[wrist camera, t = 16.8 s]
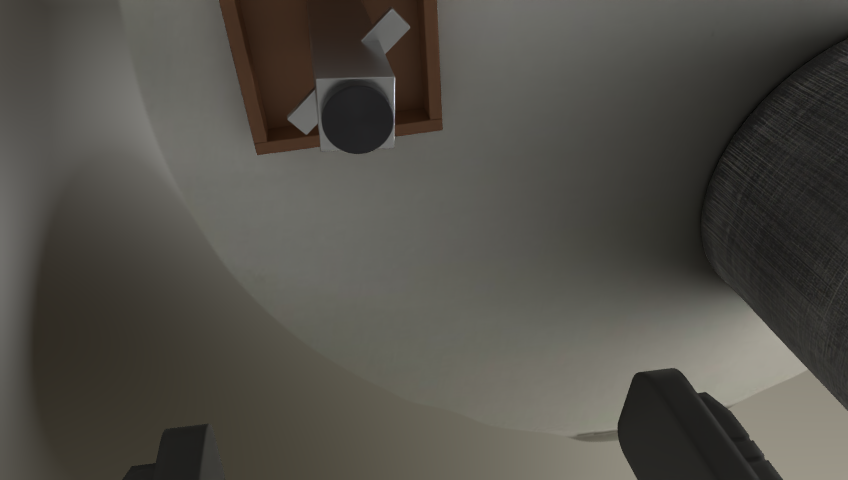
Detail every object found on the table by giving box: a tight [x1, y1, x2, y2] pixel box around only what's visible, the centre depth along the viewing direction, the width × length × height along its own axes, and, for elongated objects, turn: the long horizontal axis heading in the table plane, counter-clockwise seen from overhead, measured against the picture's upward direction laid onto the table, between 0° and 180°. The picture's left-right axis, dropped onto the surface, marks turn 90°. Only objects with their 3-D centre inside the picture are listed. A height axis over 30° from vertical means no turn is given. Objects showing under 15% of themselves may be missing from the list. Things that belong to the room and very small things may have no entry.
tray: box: [219, 0, 443, 155], centre depth 34 cm, size 14×12×2 cm
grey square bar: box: [287, 0, 410, 154], centre depth 29 cm, size 6×6×15 cm
